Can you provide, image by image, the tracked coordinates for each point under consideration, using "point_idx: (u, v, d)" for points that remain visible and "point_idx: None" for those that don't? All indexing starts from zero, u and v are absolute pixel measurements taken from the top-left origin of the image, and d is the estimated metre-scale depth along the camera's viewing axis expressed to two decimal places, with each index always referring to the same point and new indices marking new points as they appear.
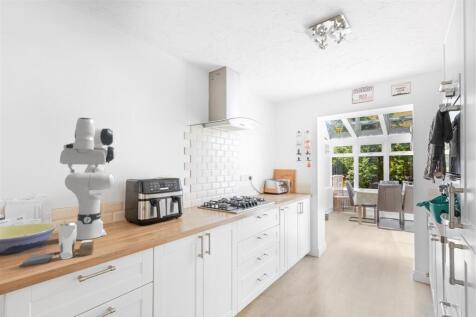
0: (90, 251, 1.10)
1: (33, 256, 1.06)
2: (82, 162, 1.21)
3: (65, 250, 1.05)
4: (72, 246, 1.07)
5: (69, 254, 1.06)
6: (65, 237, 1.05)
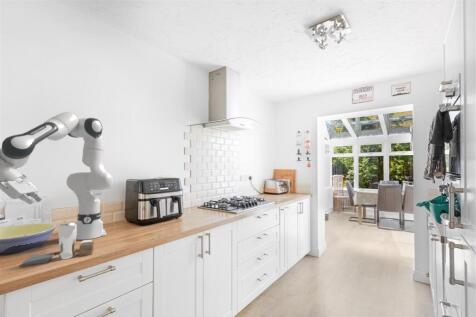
0: (90, 251, 1.10)
1: (33, 256, 1.06)
2: None
3: (65, 250, 1.05)
4: (72, 246, 1.07)
5: (69, 254, 1.06)
6: (65, 237, 1.05)
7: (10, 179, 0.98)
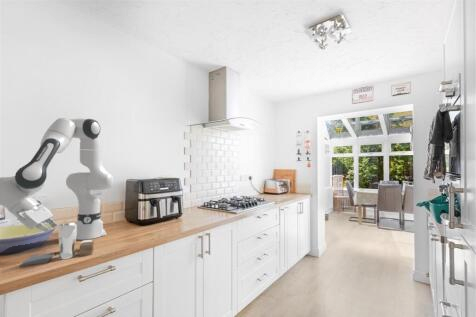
0: (90, 251, 1.10)
1: (33, 256, 1.06)
2: None
3: (65, 250, 1.05)
4: (72, 246, 1.07)
5: (69, 254, 1.06)
6: (65, 237, 1.05)
7: (27, 208, 0.99)
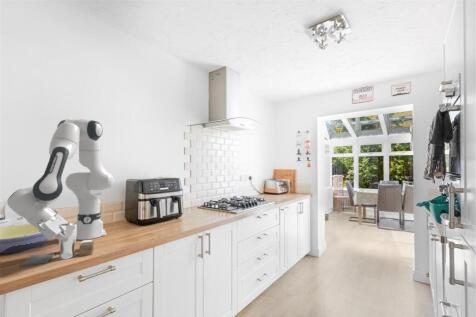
0: (90, 251, 1.10)
1: (33, 256, 1.06)
2: None
3: (65, 250, 1.05)
4: (72, 246, 1.07)
5: (69, 254, 1.06)
6: None
7: (46, 219, 1.02)
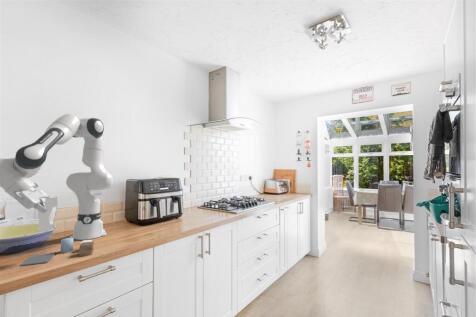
0: (90, 251, 1.10)
1: (33, 256, 1.06)
2: None
3: (43, 223, 1.03)
4: (51, 219, 1.05)
5: (48, 227, 1.04)
6: None
7: (24, 189, 1.00)
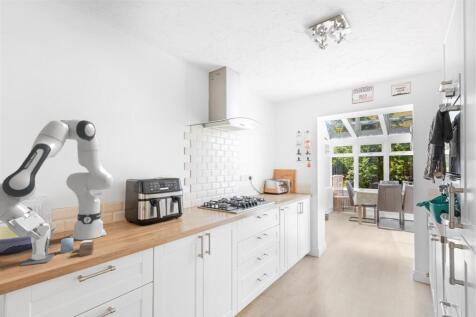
0: (90, 251, 1.10)
1: None
2: None
3: (37, 251, 1.02)
4: (45, 247, 1.04)
5: (42, 255, 1.03)
6: None
7: (17, 216, 0.99)
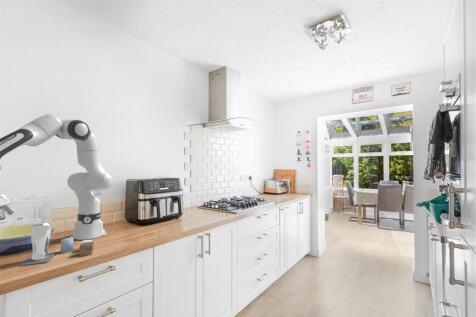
0: (90, 251, 1.10)
1: None
2: None
3: (37, 251, 1.02)
4: (45, 247, 1.04)
5: (42, 255, 1.03)
6: (37, 238, 1.02)
7: None
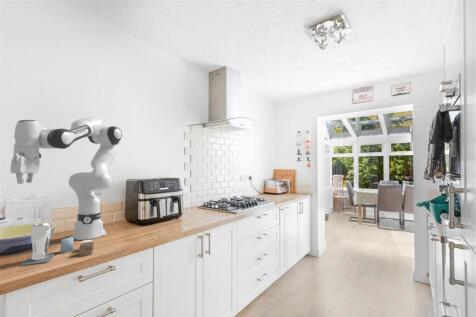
0: (90, 251, 1.10)
1: None
2: None
3: (37, 251, 1.02)
4: (45, 247, 1.04)
5: (42, 255, 1.03)
6: (37, 238, 1.02)
7: (26, 155, 1.06)
